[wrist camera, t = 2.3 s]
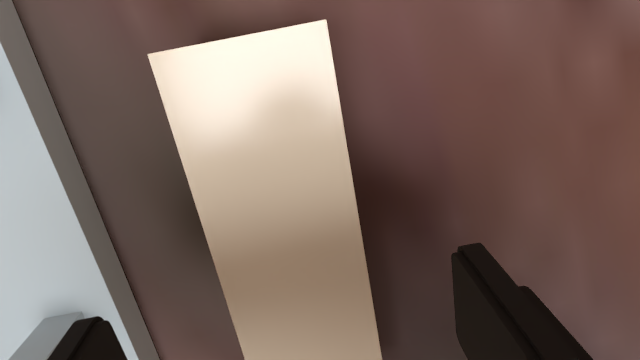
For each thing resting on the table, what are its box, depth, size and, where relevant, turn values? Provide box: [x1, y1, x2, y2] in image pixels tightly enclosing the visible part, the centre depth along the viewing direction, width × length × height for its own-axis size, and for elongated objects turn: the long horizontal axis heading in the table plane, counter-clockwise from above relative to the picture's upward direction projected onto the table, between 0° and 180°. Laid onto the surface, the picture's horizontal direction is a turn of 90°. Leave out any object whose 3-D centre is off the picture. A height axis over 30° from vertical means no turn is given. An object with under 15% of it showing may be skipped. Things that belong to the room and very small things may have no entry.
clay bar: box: [148, 20, 382, 360], centre depth 15 cm, size 16×4×6 cm, turn 10°
